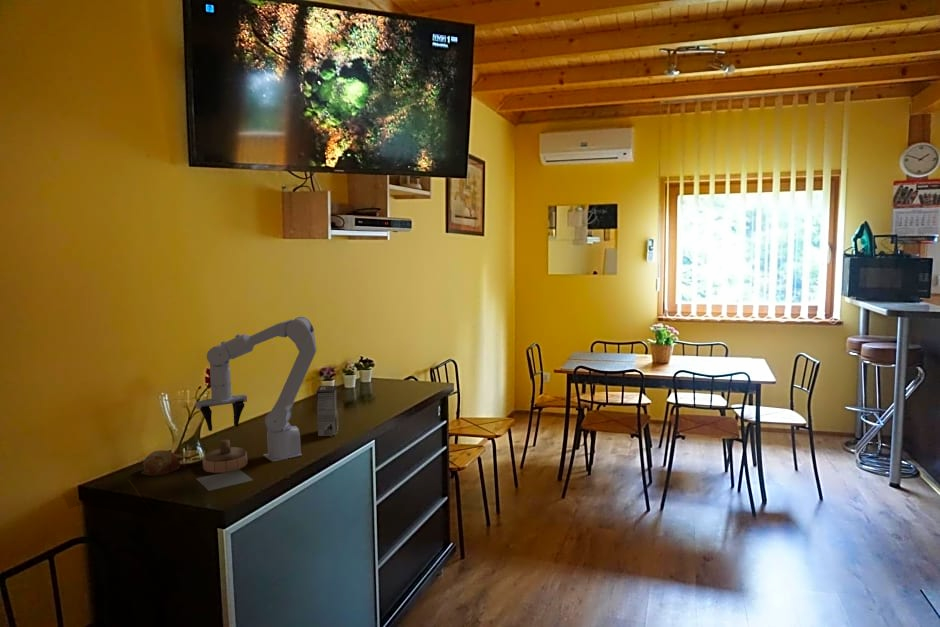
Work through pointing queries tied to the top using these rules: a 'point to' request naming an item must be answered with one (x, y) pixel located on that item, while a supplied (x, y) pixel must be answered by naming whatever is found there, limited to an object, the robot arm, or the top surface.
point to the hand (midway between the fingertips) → (223, 428)
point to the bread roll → (160, 463)
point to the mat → (224, 479)
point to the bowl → (225, 464)
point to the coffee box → (327, 410)
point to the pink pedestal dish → (225, 452)
